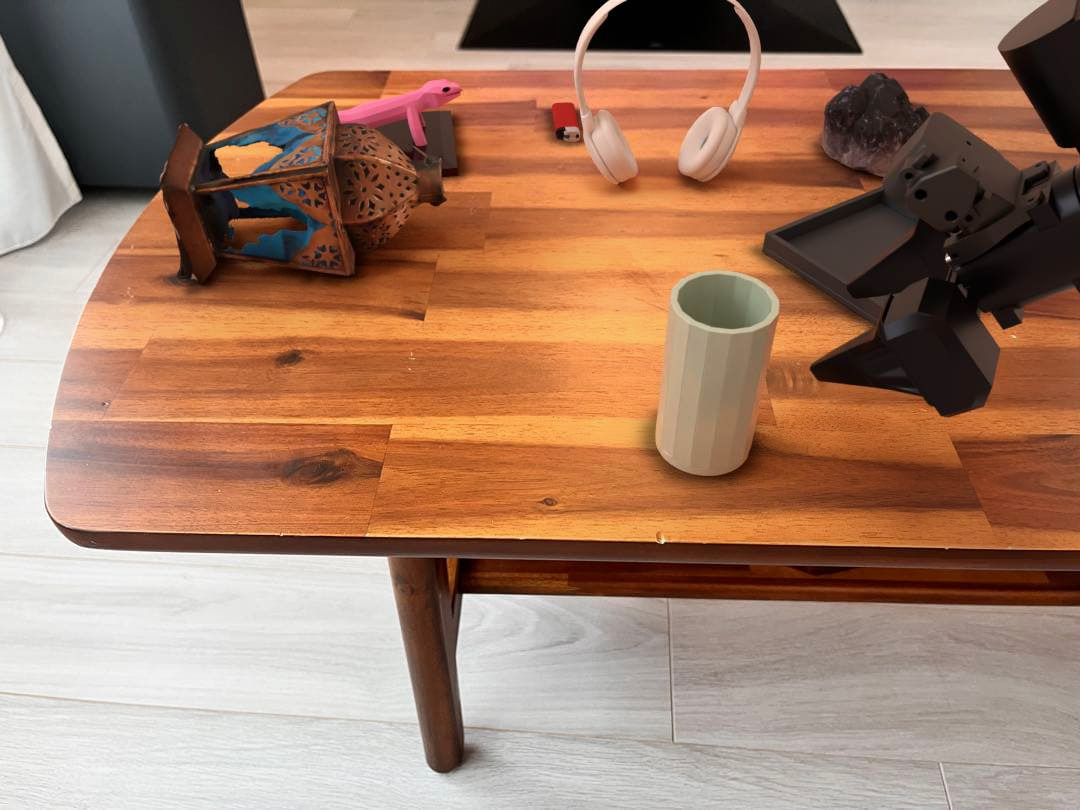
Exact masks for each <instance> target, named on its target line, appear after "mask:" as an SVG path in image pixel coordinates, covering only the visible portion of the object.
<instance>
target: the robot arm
mask: <svg viewBox="0 0 1080 810" xmlns="http://www.w3.org/2000/svg"><path fill="white" fill-rule="evenodd" d="M997 50H998V53H999V54H1000V55H1001V57H1002V59H1003V60H1004V62H1005V63H1006V66H1007V67H1008V68H1009V71H1010V72H1011V73H1012V75H1013V76H1014V78H1015V80H1016V81H1017V83H1018V84H1019V86H1020V88H1021V89H1022V91H1023V92H1024V94H1025V96H1026V97H1027V99H1028V101H1029V102H1030V104H1031V106H1032V107H1033V109H1034V111H1035V113H1036V114H1037V115H1038V117H1039V119H1040V120H1041V122H1042V123H1043V125H1044V127H1045V128H1046V130H1047V131H1048V133H1049V135H1050V136H1051V138H1052V140H1053V141H1054V143H1055V145H1056V147H1058V148H1061V149H1075V150H1076V151H1077V153H1078V154H1079V155H1080V0H1047V1H1045V2H1044V3H1043V4H1041V5H1040V6H1038V7H1037V8H1035V9H1034V10H1033V11H1032V12H1030V13H1029V14H1028V15H1027V16H1025V17H1024V18H1022V19H1021V20H1020V21H1019V22H1018V23H1017V24H1015V25H1014V27H1012V28H1011V29H1010V30H1009V31H1007V33H1006V34H1005V35H1004V36H1003V37H1002V39H1001V40H1000V41H999V43H998V45H997ZM881 183H882V186H883V188H884V190H885V191H886V193H887V194H888V195H889V196H890V197H891V198H893V199H894V200H895V201H897V202H898V203H900V204H905V206H906V208H907V209H909V210H910V211H912V212H913V213H914V214H916V215H917V216H919V219H918V222H917V224H916V225H915V227H914V228H912V229H911V230H910V231H909V232H908V233H907V234H906V235H905V236H903V237H902V238H901V239H900V240H899V241H898V242H897V243H895V244H894V245H893V246H892V247H891V248H889V249H888V250H887V251H886V252H885V253H883V254H882V255H881V256H880V257H879V258H877V259H876V260H875V261H874V262H873V263H871V264H870V265H869V266H868V267H867V268H865V269H864V270H863V271H862V272H861V273H859V274H858V275H857V276H856V277H855V278H853V279H852V280H851V281H850V282H849V283H848V284H847V286H846V290H847V291H848V292H849V294H850V295H851V297H852V298H854V299H862V298H871V297H879V296H885V295H888V297H887V299H886V302H885V304H884V307H883V309H882V312H881V315H880V317H879V320H878V323H877V325H874V326H872V327H871V328H869V329H867V330H866V331H864V332H862V333H860V334H858V335H857V336H855V337H853V338H851V339H849V340H848V341H847V342H845V343H843V344H840V345H839V346H838V347H836V348H834V349H832V350H831V351H829V352H827V353H826V354H824V355H823V356H820V358H818V359H817V360H815V361H813V362H812V363H811V364H810V367H809V372H810V373H811V374H812V376H813V377H814V378H815V379H816V380H817V381H818V382H824V383H831V384H838V385H839V384H840V385H848V386H856V387H863V388H864V387H865V388H874V389H880V390H888V391H891V392H897V393H902V394H906V395H910V396H911V395H912V396H915V397H921V398H923V400H924V402H925V403H926V404H927V405H928V406H930V407H932V408H933V407H934V409H935V411H936V412H937V413H938V414H939V416H940V417H942V418H948V419H949V418H952V417H956V416H959V415H962V414H965V413H968V412H971V411H972V412H973V411H975V410H978V409H981V408H984V407H985V405H986V403H987V400H988V399H989V396H990V394H991V391H992V389H993V386H994V381H995V376H996V371H997V368H998V362H999V359H1000V354H1001V347H1000V346H999V344H998V343H997V341H996V340H995V338H994V337H993V336H992V334H991V332H990V331H989V330H988V328H987V327H986V325H985V323H984V322H983V321H982V319H981V316H982V313H983V314H988V313H990V314H992V316H993V318H994V319H995V321H996V322H997V323H998V325H999V326H1000V328H1001V330H1002V331H1005V330H1008V329H1011V328H1013V327H1016V326H1018V325H1021V324H1023V320H1024V315H1025V310H1026V307H1027V306H1030V305H1032V304H1034V303H1037V302H1040V301H1043V300H1045V299H1048V298H1050V297H1053V296H1055V295H1058V294H1062V293H1064V292H1066V291H1068V290H1071V289H1074V288H1075V289H1076V291H1077V292H1078V294H1080V162H1078V163H1076V164H1074V165H1072V166H1070V167H1068V168H1066V169H1062V167H1061V166H1060V164H1059V163H1058V160H1057V159H1054V160H1053V161H1050V162H1048V161H1047V160H1045V159H1043V160H1040V161H1038V162H1037V163H1034V164H1032V165H1029V166H1028V167H1026V168H1022V169H1019V168H1018V167H1016V165H1014V164H1013V163H1011V162H1010V161H1009V160H1007V159H1006V158H1005V157H1004V156H1003V155H1002V154H1001V152H999V151H998V150H997V149H996V148H995V147H993V146H991V145H990V144H989V143H988V142H986V141H985V140H983V139H982V138H981V137H979V136H977V134H975V133H974V132H972V131H971V130H969V129H968V128H966V127H965V126H963V124H961V123H959V122H958V121H957V120H955V119H954V118H953V117H951V116H949V115H948V114H946V113H944V112H940V111H933V113H930V116H929V118H928V119H927V120H926V121H925V122H924V123H923V124H922V125H921V127H920V128H919V129H918V130H917V131H916V132H915V133H914V134H913V136H912V137H911V138H910V139H909V140H908V141H907V142H906V143H905V145H904V146H903V147H902V148H901V149H900V150H899V151H898V152H897V154H896V155H895V156H894V157H893V159H892V163H891V166H890V168H889V170H888V172H887V173H886V175H885V176H884V177H883V178H882V181H881ZM897 293H900V294H898V295H897V296H896V297H894V296H893V295H892V294H897Z"/></svg>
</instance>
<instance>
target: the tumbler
mask: <svg viewBox="0 0 1080 810" xmlns="http://www.w3.org/2000/svg"><path fill="white" fill-rule="evenodd" d="M780 302H781V301H780V299H779V297H778V296H777V294H776V293H775V291H774V290H773V288H772V287H771V286H769V285H767V284H766V283H765V282H763V281H762V280H760V279H759V278H757V277H753V276H752V275H748V274H745V273H743V272H739V271H730V270H724V269H712V270H703V271H697V272H694V273H692V274H690V275H687V276H685V277H682V278H681V279H679V281H678V282H676V283H675V285H674V286H673V287H672V288H671V290H670V296H669V303H668V311H667V314H668V315H667V323H666V332H665V341H664V349H663V358H662V368H661V378H660V379H661V380H660V388H659V398H658V407H657V414H656V415H657V416H656V425H655V433H654V434H655V438H654V439H655V446H656V448H657V451H658V453H659V454H660V455H661V457H662V458H663V459H664V460H665V461H666V462H667V463H668V464H669V465H671V466H672V467H674V468H675V469H677V470H679V471H682V472H684V473H687V474H690V475H693V476H699V477H700V476H701V477H714V476H715V477H716V476H723V475H726V474H729V473H731V472H733V471H736V470H737V469H738V468H740V467H741V466H742V465H743V464H744V463H745V462H746V461H747V459H748V457H749V454H750V450H751V448H752V445H753V440H754V435H755V430H756V427H757V426H756V425H757V420H758V416H759V411H760V407H761V402H762V398H763V391H764V387H765V383H766V379H767V374H768V370H769V369H768V368H769V363H770V359H771V355H772V349H773V344H774V340H775V334H776V330H777V326H778V321H779V316H780Z"/></svg>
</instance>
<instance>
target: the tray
mask: <svg viewBox="0 0 1080 810" xmlns="http://www.w3.org/2000/svg"><path fill="white" fill-rule="evenodd" d="M918 219H919V216H917V215H916V214H914V213H913V212H912V211H910V210H909V209H907V208H906V206H905V204H900V203H898V202H897V201H895V200H894V199H893V198H891V197H890V196H889V195H888V194H887V193H886V191H885V190H884V188H883V185H881V186H879V187H876V188H874V189H871V190H869V191H866V192H864V193H862V194H858V195H856V196H854V197H851V198H849V199H846V200H844V201H841V202H839V203H837V204H834V205H832V206H829V207H826V208H824V209H822V210H819V211H817V212H813V213H812V214H809V215H806V216H804V217H802V218H799V219H796V220H794V221H792V222H789V223H786V224H784V225H781V226H780V227H776V228H774V229H771V230H769V231H765V233H764V239H763V245H762V250H761V252H762V253H763V254H765V255H767V256H768V257H770V258H771V259H773V260H775V261H776V262H778V263H779V264H781V265H782V266H783V267H784V268H787V269H788V270H790V271H791V272H793V273H795V274H796V275H798V276H799V277H800V278H802V279H804V280H805V281H807V282H808V283H810V284H811V285H812V286H814V287H816V288H817V289H819V290H820V291H822V292H824V294H827V295H828V296H830V297H831V298H833V299H834V300H836V301H837V302H839V303H840V304H842V305H844V306H845V307H847V308H848V309H850V310H851V311H852V312H855V313H856V314H857V315H859V316H860V317H862V318H863V319H865V320H866V321H868V322H869V323H871V324H872V325H874V326H876V325H877V323H878V320H879V317H880V315H881V312H882V309H883V307H884V304H885V302H886V299H887V297H888V295H885V296H879V297H871V298H862V299H854V298H852V297H851V295H850V294H849V292H848V291H847V290H846V286H847V284H848V283H849V282H850V281H851V280H852V279H853V278H855V277H856V276H857V275H858V274H859V273H861V272H862V271H863V270H864V269H865V268H867V267H868V266H869V265H870V264H871V263H873V262H874V261H875V260H876V259H877V258H879V257H880V256H881V255H882V254H883V253H885V252H886V251H887V250H888V249H889V248H891V247H892V246H893V245H894V244H895V243H897V242H898V241H899V240H900V239H901V238H902V237H903V236H905V235H906V234H907V233H908V232H909V231H910V230H911V229H912V228H914V227H915V225H916V224H917V222H918ZM898 294H900V293H897V294H892V295H893V296H894V297H896V296H897V295H898Z"/></svg>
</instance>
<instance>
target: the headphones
mask: <svg viewBox="0 0 1080 810" xmlns="http://www.w3.org/2000/svg"><path fill="white" fill-rule="evenodd" d="M626 1H627V0H607V2H605V3H604V4H603V5H602V6H601V7H600V8H598V9H597V10H596V11H595V13H594V14H593V15H592V16H591V17H590V19H588V21H587V23H586V24H585V26H584V28H583V29H582V31H581V33H580V36H579V39H578V40H577V43H576V47H575V53H574V58H573V59H574V60H573V79H574V80H573V81H574V87H575V93H576V97H577V100H578V105H579V114H580V119H581V124H582V132H583V134H582V135H583V137H582V138H583V141H584V145H585V147H586V150H587V152H588V154H589V156H590V158H591V159H592V162H593V163H594V165H595V167H596V168H597V170H598V171H599V172H600V174H601V175H602V176H603V177H604V178H605V179H606V180H607V181H609V182H610V183H611V184H612V185H618V184H620V183H623V182H625V181H627V180H629V179H633V178H635V177H636V176H637V175H638V173H639V168H638V163H637V160H636V158H635V156H634V152H633V151H632V148H631V146H630V143H629V141H628V140H627V138H626V135H625V134H624V132H623V131H622V128H621V127H620V125H619V123H618V122H617V121H616V119H615V117H614V116H613V115H612V113H610V112H609V111H608V110H607V109H600V110H598V112H597V114H596V115H594V116H593V113H592V110H591V108H590V107H589V104H587V101H586V97H585V94H584V88H583V64H584V59H585V55H586V52H587V50H588V46H589V44H590V42H591V40H592V38H593V36H595V34H596V32H597V30H598V29H599V28H600V26H602V24H603V23H604V22H605V20H606V19H607V18H608V15H609V12H610V11H611V10H613V9H614V8H616V7H617V6H618V5H620V4H622V3H624V2H626ZM727 2H729V3H730V4H732V5H733V6H734V7H733V9H734V11H735V13H736V14H737V15H738V17H739V18H740V20H741V21H742V23H743V25H744V27H745V30H746V32H747V35H748V38H749V47H750V56H749V57H750V58H749V65H748V71H747V75H746V79H745V81H744V85H743V87H742V90H741V92H740V94H739V97H738V98H736V99H734V101H733V102H732V103H731V105H729V108H728V112H727V110H726V109H725V108H724V107H722V106H718V105H717V106H712V107H710V108H709V109H706V110H705V111H704V112H703V113H702V114H700V116H699V117H698V118H697V119H696V120H695V121H694V123H693V124H692V125H691V127H690V128H689V129H688V132H687V133H686V135H685V136H684V138H683V141H682V144H681V146H680V149H679V152H678V157H677V167H678V170H679V172H680V173H681V174H682V175H683V176H686V177H690V178H691V179H694V180H697V181H699V182H701V183H705V182H708V181H710V180H712V179H713V178H715V177H716V176H717V175H718V174H719V173H720V172H722V170H723V169H724V168H725V167H726V166H727V165H728V163H729V162H730V160H731V159H732V157H733V155H734V154H735V151H736V149H737V147H738V144H739V140H740V138H741V136H742V134H743V130H744V127H745V122H746V118H747V114H748V111H747V109H748V107H749V104H750V103H751V99H752V98H753V95H754V93H755V89H756V88H757V83H758V81H759V76H760V71H761V67H762V66H761V63H762V47H761V41H760V36H759V33H758V30H757V28H756V25H755V24H754V21H753V19H752V18H751V16H750V15H749V13H748V12H747V11H746V9H745V8H744V7H743V6H742V5H741V3H740V2H738V1H737V0H727Z"/></svg>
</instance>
